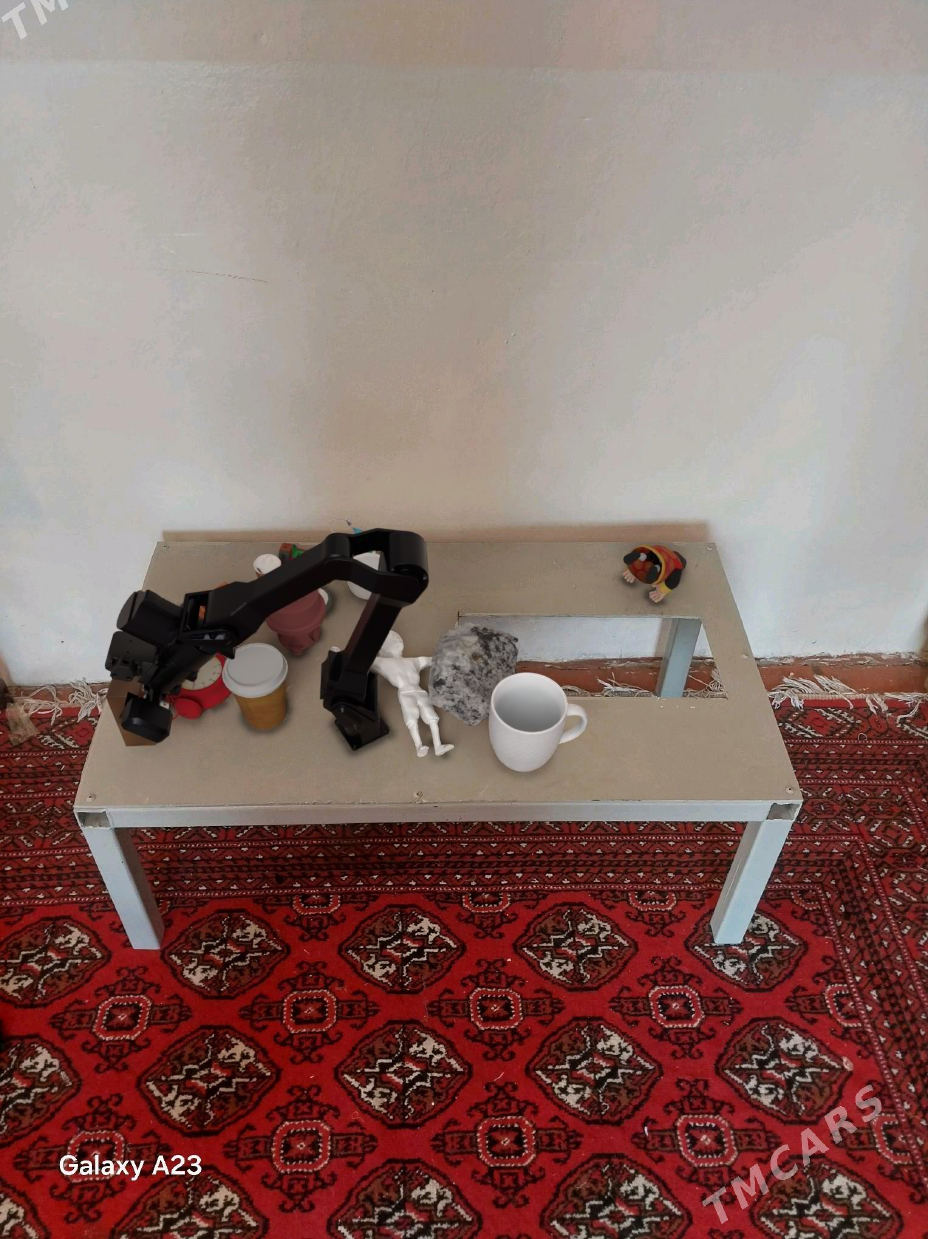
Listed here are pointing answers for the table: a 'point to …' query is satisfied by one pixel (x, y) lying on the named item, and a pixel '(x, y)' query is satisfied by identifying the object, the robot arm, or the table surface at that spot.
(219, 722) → the table surface
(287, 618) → the mechanical component
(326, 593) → the stove knob
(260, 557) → the milkshake
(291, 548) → the numbered block arch
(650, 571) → the figurine
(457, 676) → the rock
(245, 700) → the disposable coffee cup
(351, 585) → the teacup
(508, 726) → the mug
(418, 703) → the figurine
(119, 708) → the brown rectangular block
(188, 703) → the alarm clock
